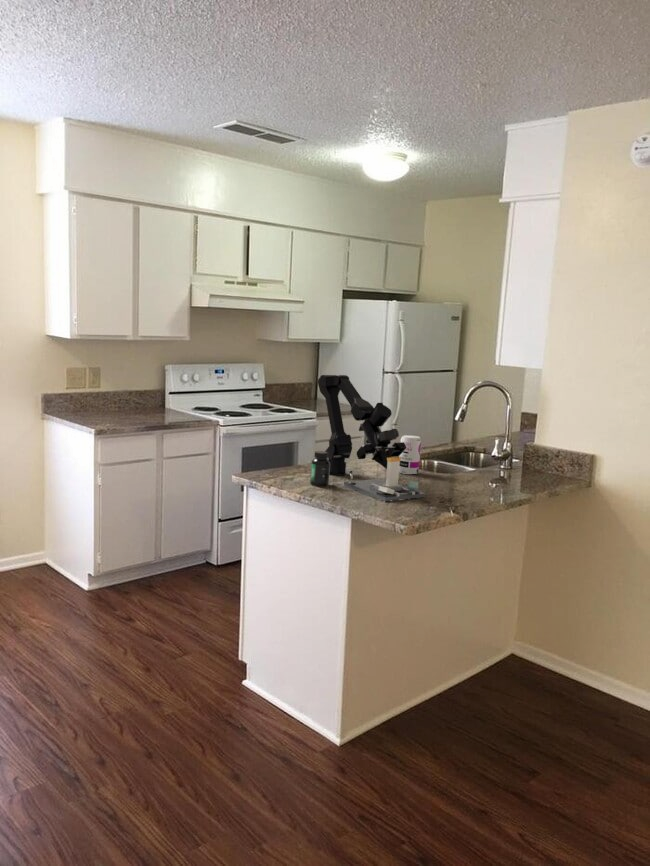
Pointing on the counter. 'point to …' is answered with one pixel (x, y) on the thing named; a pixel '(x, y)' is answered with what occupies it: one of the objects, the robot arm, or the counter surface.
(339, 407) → the robot arm
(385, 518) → the counter surface
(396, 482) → the slide paddle
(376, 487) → the console
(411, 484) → the push button
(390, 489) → the rocker switch
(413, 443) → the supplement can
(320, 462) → the supplement bottle
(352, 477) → the toggle lever
